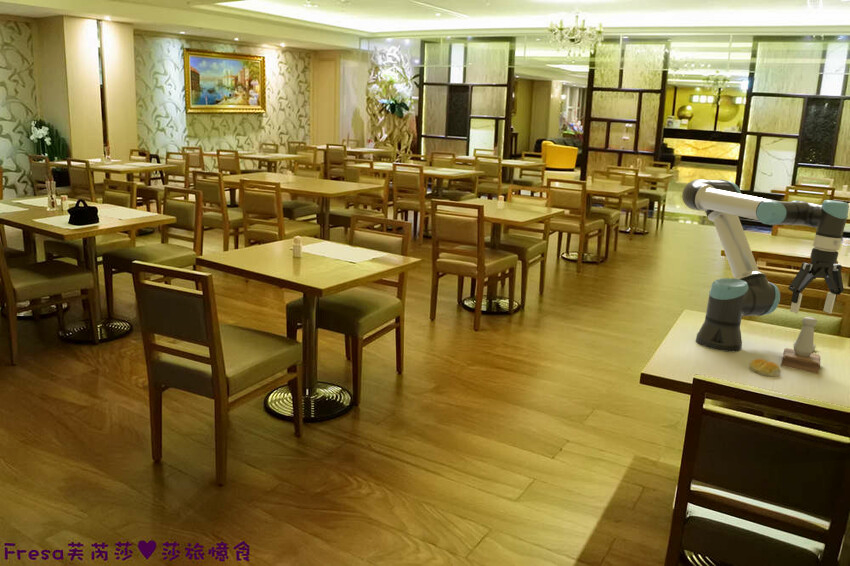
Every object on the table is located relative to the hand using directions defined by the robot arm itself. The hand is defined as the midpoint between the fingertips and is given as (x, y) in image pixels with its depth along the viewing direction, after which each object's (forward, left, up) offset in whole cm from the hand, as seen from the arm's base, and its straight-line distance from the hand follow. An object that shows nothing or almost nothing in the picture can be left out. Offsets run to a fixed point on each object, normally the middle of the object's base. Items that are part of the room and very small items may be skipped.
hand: (810, 312), depth 230 cm
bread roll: (-19, -5, -19) cm, 27 cm away
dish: (+17, +16, -19) cm, 30 cm away
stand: (0, 0, -18) cm, 18 cm away
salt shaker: (0, 0, -15) cm, 15 cm away
